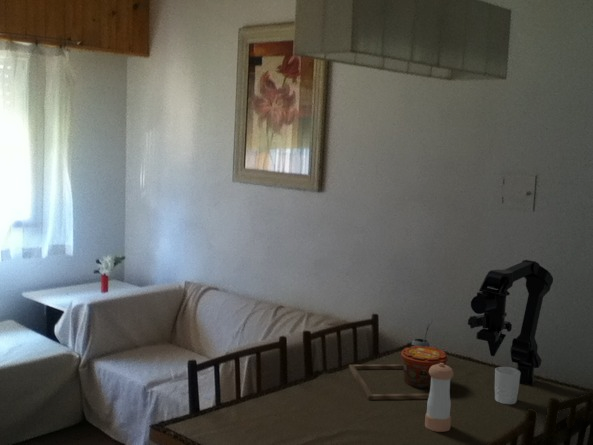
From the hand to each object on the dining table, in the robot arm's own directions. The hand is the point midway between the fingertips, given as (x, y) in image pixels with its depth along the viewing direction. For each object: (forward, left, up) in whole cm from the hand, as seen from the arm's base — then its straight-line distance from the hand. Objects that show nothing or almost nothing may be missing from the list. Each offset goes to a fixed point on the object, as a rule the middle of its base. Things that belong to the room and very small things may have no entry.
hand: (492, 355), depth 230 cm
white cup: (+3, +6, -13) cm, 15 cm away
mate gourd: (-17, -32, -13) cm, 39 cm away
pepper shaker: (+36, -4, -13) cm, 39 cm away
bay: (+10, -29, -13) cm, 33 cm away
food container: (+4, -22, -13) cm, 26 cm away
